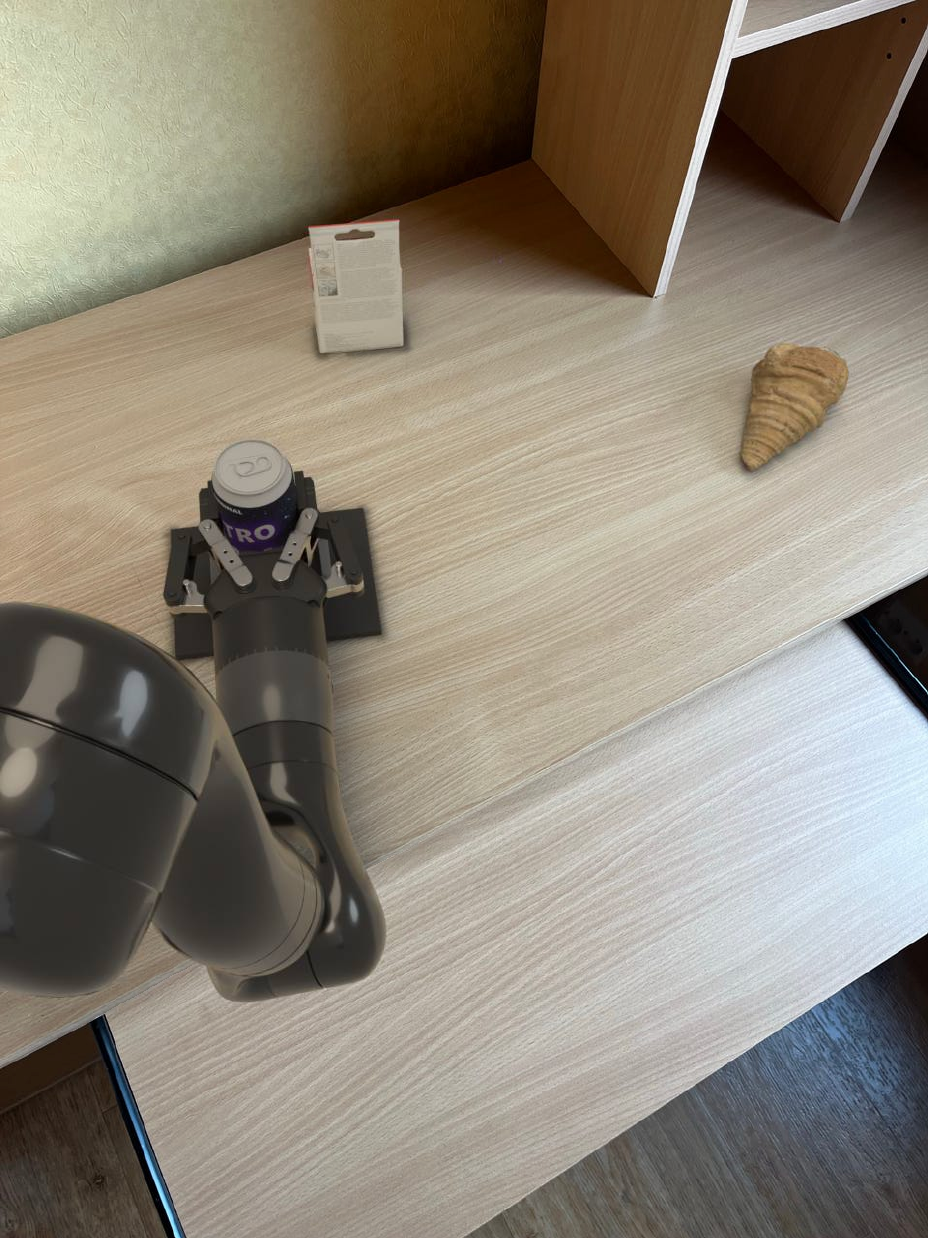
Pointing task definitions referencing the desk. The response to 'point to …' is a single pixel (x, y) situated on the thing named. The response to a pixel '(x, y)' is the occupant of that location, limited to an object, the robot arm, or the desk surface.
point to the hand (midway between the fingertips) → (256, 482)
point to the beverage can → (255, 495)
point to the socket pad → (340, 611)
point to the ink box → (357, 287)
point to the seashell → (789, 398)
